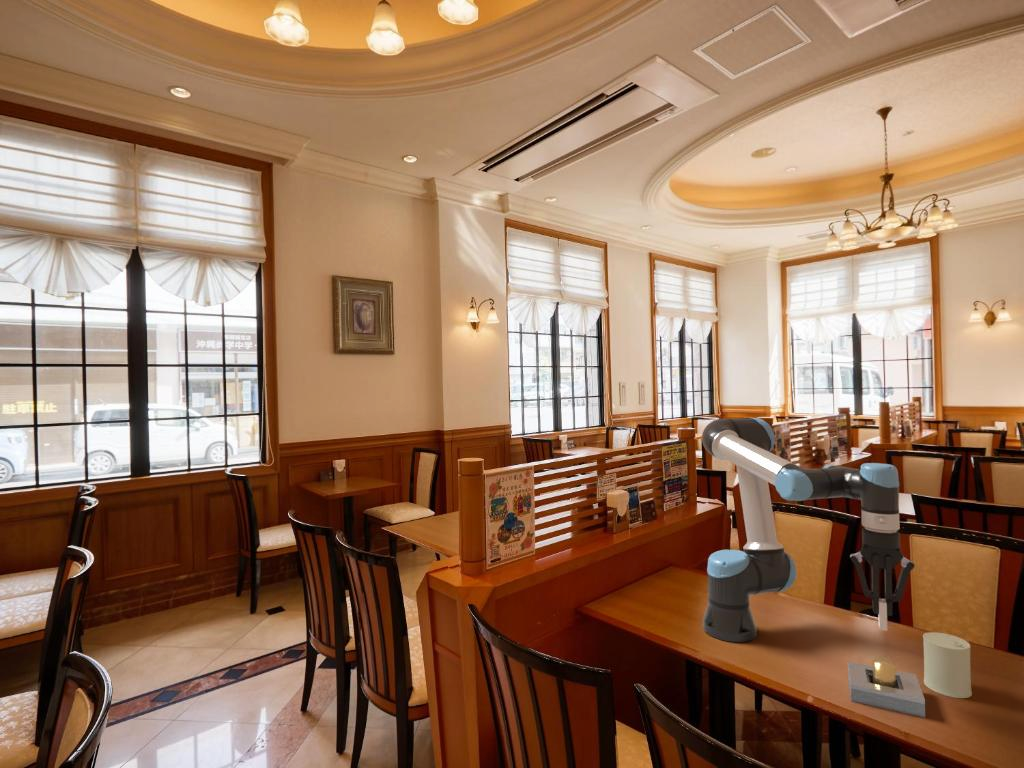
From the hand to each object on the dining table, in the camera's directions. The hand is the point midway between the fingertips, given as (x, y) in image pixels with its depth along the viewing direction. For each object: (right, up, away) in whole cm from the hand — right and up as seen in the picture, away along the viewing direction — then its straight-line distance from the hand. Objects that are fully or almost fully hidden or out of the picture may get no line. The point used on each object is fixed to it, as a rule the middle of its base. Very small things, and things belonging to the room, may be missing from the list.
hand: (882, 627), depth 129 cm
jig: (0, -16, 0) cm, 16 cm away
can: (+18, -16, +3) cm, 24 cm away
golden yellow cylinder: (0, -16, 0) cm, 16 cm away
